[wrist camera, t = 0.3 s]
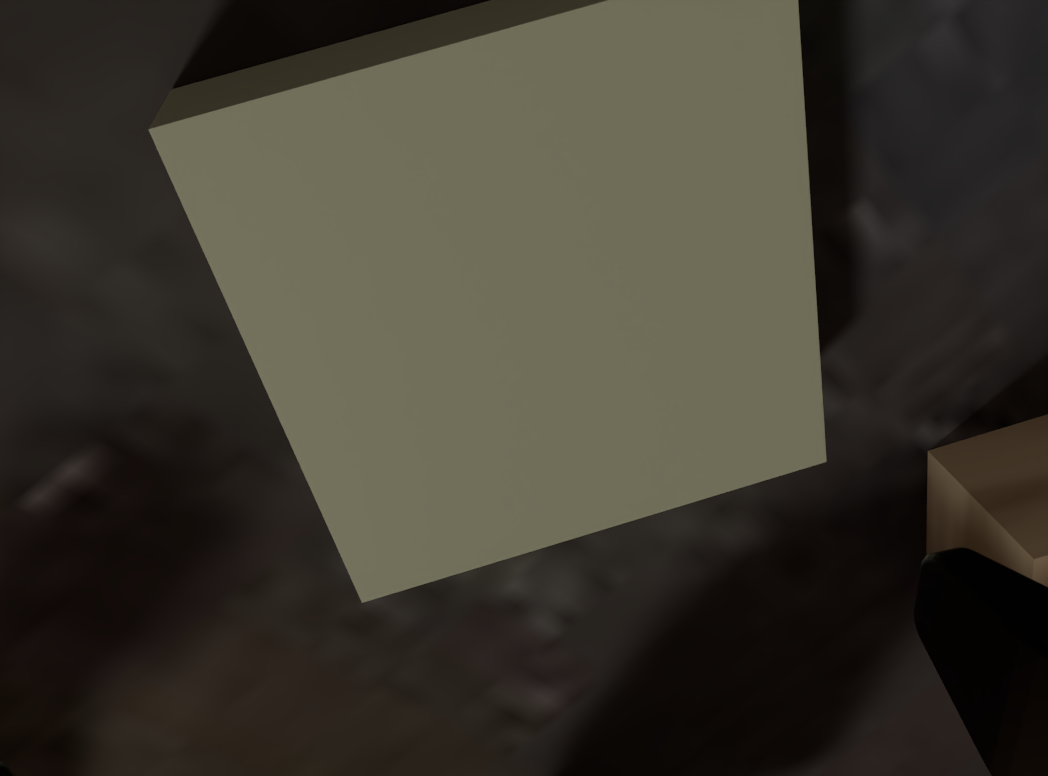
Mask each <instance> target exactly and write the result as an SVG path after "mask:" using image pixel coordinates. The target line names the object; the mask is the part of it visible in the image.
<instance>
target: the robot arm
mask: <svg viewBox="0 0 1048 776" xmlns="http://www.w3.org/2000/svg"><path fill="white" fill-rule="evenodd" d="M914 620H915V625H916V629H917V632H918V635H919V637H920V639H921V641H922V643H923V645H924V647H925V649H926V651H927V653H928V655H929V656H930V658H931V660H932V662H933V664H934V666H935V668H936V670H937V672H938V674H939V676H940V678H941V680H942V682H943V684H944V686H945V688H946V690H947V692H948V693H949V695H950V697H951V699H952V701H953V703H954V705H955V707H956V709H957V711H958V713H959V715H960V717H961V719H962V721H963V723H964V725H965V727H966V728H967V730H968V732H969V734H970V736H971V738H972V740H973V742H974V744H975V746H976V748H977V750H978V752H979V754H980V755H981V757H982V759H983V761H984V763H985V764H986V766H987V768H988V770H989V772H990V773H991V775H992V776H1048V587H1047V586H1045V585H1043V584H1041V583H1039V582H1036V581H1034V580H1032V579H1030V578H1028V577H1026V576H1024V575H1022V574H1020V573H1018V572H1016V571H1014V570H1012V569H1010V568H1008V567H1006V566H1004V565H1002V564H1000V563H998V562H996V561H994V560H992V559H990V558H988V557H986V556H984V555H982V554H980V553H978V552H976V551H973V550H971V549H968V548H964V547H958V548H953V549H949V550H944V551H940V552H935V553H930V554H928V555H927V556H926V557H925V558H924V559H923V561H922V563H921V567H920V574H919V581H918V588H917V595H916V601H915V608H914ZM0 776H13V774H12V772H11V771H10V769H9V768H8V766H7V765H6V764H5V763H4V762H2V761H0Z"/></svg>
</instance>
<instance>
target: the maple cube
mask: <svg viewBox="0 0 1048 776" xmlns="http://www.w3.org/2000/svg"><path fill="white" fill-rule="evenodd" d="M958 547H964V548H968V549H971V550H973V551H976V552H978V553H980V554H982V555H984V556H986V557H988V558H990V559H992V560H994V561H996V562H998V563H1000V564H1002V565H1004V566H1006V567H1008V568H1010V569H1012V570H1014V571H1016V572H1018V573H1020V574H1022V575H1024V576H1026V577H1028V578H1030V579H1032V580H1034V581H1036V582H1039V583H1041V584H1043V585H1045V586H1047V587H1048V414H1047V415H1044V416H1041V417H1037V418H1034V419H1031V420H1027V421H1024V422H1021V423H1018V424H1014V425H1011V426H1008V427H1004V428H1001V429H998V430H995V431H991V432H988V433H985V434H981V435H978V436H975V437H972V438H968V439H965V440H962V441H958V442H955V443H952V444H949V445H945V446H942V447H939V448H936V449H932V450H929V451H928V472H927V546H926V556H927V555H928V554H930V553H935V552H940V551H944V550H949V549H953V548H958Z"/></svg>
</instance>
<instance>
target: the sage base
mask: <svg viewBox="0 0 1048 776" xmlns="http://www.w3.org/2000/svg"><path fill="white" fill-rule="evenodd" d="M148 130H149V132H150V134H151V136H152V138H153V141H154V143H155V145H156V147H157V150H158V152H159V154H160V156H161V158H162V161H163V163H164V165H165V167H166V169H167V172H168V174H169V176H170V178H171V181H172V183H173V185H174V187H175V189H176V192H177V194H178V196H179V198H180V200H181V203H182V205H183V207H184V209H185V212H186V214H187V216H188V218H189V220H190V223H191V225H192V227H193V229H194V231H195V234H196V236H197V238H198V240H199V243H200V245H201V247H202V249H203V251H204V254H205V256H206V258H207V260H208V263H209V265H210V267H211V269H212V271H213V274H214V276H215V278H216V280H217V282H218V285H219V287H220V289H221V291H222V294H223V296H224V298H225V300H226V302H227V305H228V307H229V309H230V311H231V313H232V316H233V318H234V320H235V322H236V325H237V327H238V329H239V331H240V333H241V336H242V338H243V340H244V342H245V344H246V347H247V349H248V351H249V353H250V356H251V358H252V360H253V362H254V364H255V367H256V369H257V371H258V373H259V375H260V378H261V380H262V382H263V384H264V387H265V389H266V391H267V393H268V395H269V398H270V400H271V402H272V404H273V407H274V409H275V411H276V413H277V415H278V418H279V420H280V422H281V424H282V426H283V429H284V431H285V433H286V435H287V438H288V440H289V442H290V444H291V446H292V449H293V451H294V453H295V455H296V457H297V460H298V462H299V464H300V466H301V469H302V471H303V473H304V475H305V477H306V480H307V482H308V484H309V486H310V488H311V491H312V493H313V495H314V497H315V500H316V502H317V504H318V506H319V508H320V511H321V513H322V515H323V517H324V519H325V522H326V524H327V526H328V528H329V531H330V533H331V535H332V537H333V539H334V542H335V544H336V546H337V548H338V551H339V553H340V555H341V557H342V559H343V562H344V564H345V566H346V568H347V570H348V573H349V575H350V577H351V579H352V582H353V584H354V586H355V588H356V590H357V593H358V595H359V597H360V599H361V601H362V603H363V602H366V601H369V600H373V599H376V598H379V597H383V596H386V595H389V594H392V593H396V592H399V591H402V590H406V589H409V588H412V587H416V586H419V585H422V584H425V583H429V582H432V581H435V580H439V579H442V578H445V577H448V576H452V575H455V574H458V573H462V572H465V571H468V570H471V569H475V568H478V567H481V566H485V565H488V564H491V563H494V562H498V561H501V560H504V559H508V558H511V557H514V556H518V555H521V554H524V553H527V552H531V551H534V550H537V549H541V548H544V547H547V546H550V545H554V544H557V543H560V542H564V541H567V540H570V539H573V538H577V537H580V536H583V535H587V534H590V533H593V532H597V531H600V530H603V529H606V528H610V527H613V526H616V525H620V524H623V523H626V522H629V521H633V520H636V519H639V518H643V517H646V516H649V515H652V514H656V513H659V512H662V511H666V510H669V509H672V508H676V507H679V506H682V505H685V504H689V503H692V502H695V501H699V500H702V499H705V498H708V497H712V496H715V495H718V494H722V493H725V492H728V491H731V490H735V489H738V488H741V487H745V486H748V485H751V484H755V483H758V482H761V481H764V480H768V479H771V478H774V477H778V476H781V475H784V474H787V473H791V472H794V471H797V470H801V469H804V468H807V467H810V466H814V465H817V464H820V463H824V462H826V447H825V430H824V414H823V398H822V382H821V365H820V349H819V333H818V316H817V300H816V284H815V268H814V251H813V235H812V219H811V202H810V186H809V170H808V154H807V137H806V121H805V105H804V88H803V72H802V56H801V40H800V23H799V7H798V0H490V1H486V2H483V3H479V4H475V5H472V6H468V7H465V8H461V9H457V10H454V11H450V12H447V13H443V14H440V15H436V16H432V17H429V18H425V19H422V20H418V21H415V22H411V23H407V24H404V25H400V26H397V27H393V28H389V29H386V30H382V31H379V32H375V33H372V34H368V35H364V36H361V37H357V38H354V39H350V40H347V41H343V42H339V43H336V44H332V45H329V46H325V47H321V48H318V49H314V50H311V51H307V52H304V53H300V54H296V55H293V56H289V57H286V58H282V59H279V60H275V61H271V62H268V63H264V64H261V65H257V66H253V67H250V68H246V69H243V70H239V71H236V72H232V73H228V74H225V75H221V76H218V77H214V78H211V79H207V80H203V81H200V82H196V83H193V84H189V85H185V86H182V87H178V88H175V89H171V91H170V93H169V94H168V96H167V98H166V100H165V101H164V103H163V105H162V107H161V108H160V110H159V112H158V114H157V115H156V117H155V119H154V121H153V122H152V124H151V126H150V127H149V129H148Z"/></svg>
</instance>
